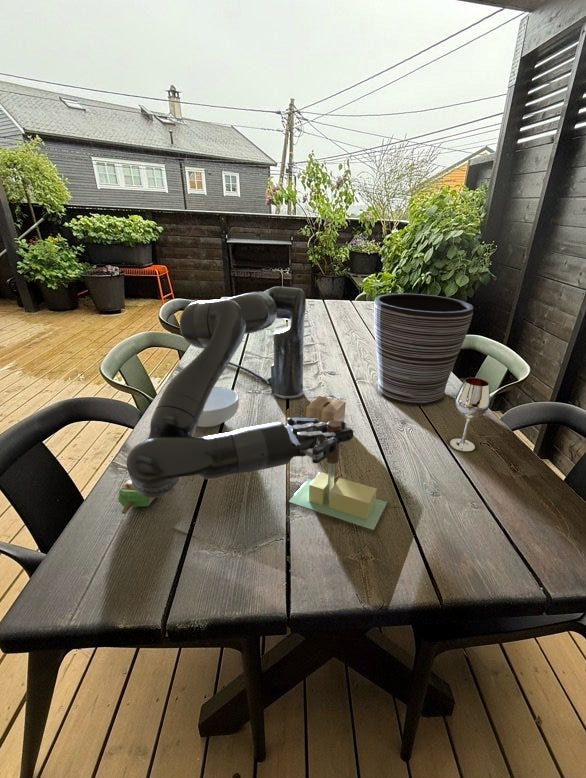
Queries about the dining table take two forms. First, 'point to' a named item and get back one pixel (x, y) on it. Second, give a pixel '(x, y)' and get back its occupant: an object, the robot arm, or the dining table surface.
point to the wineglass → (471, 407)
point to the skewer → (132, 497)
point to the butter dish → (324, 508)
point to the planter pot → (418, 344)
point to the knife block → (326, 410)
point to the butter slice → (319, 489)
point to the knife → (334, 457)
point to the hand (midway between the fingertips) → (347, 429)
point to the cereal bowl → (219, 407)
